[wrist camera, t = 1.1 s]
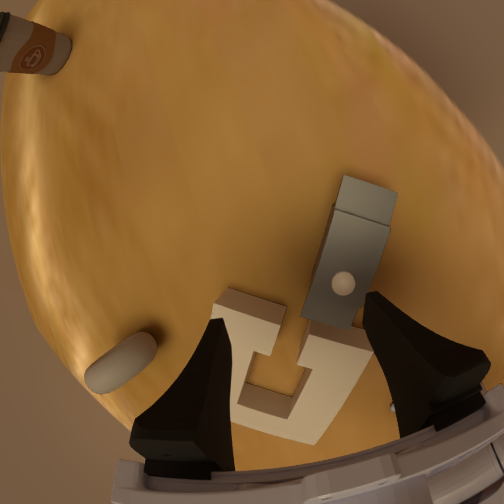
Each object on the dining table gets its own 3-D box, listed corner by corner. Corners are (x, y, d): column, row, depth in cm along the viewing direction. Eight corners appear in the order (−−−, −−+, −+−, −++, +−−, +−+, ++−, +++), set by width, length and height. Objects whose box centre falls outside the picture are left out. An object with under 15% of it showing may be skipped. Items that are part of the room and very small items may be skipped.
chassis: (369, 330, 24) (373, 352, 21) (317, 423, 28) (314, 445, 25) (227, 287, 26) (213, 302, 23) (206, 388, 31) (194, 407, 27)
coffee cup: (50, 91, 27) (-34, 83, 13) (40, 65, 26) (-33, 55, 12) (83, 45, 24) (-3, 21, 10) (70, 24, 23) (-3, 2, 9)
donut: (159, 314, 30) (102, 361, 20) (177, 339, 30) (127, 392, 20) (116, 342, 33) (67, 382, 24) (131, 363, 33) (86, 406, 24)
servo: (385, 189, 21) (403, 192, 16) (346, 307, 24) (349, 339, 19) (340, 174, 22) (345, 172, 16) (304, 295, 25) (298, 324, 20)
